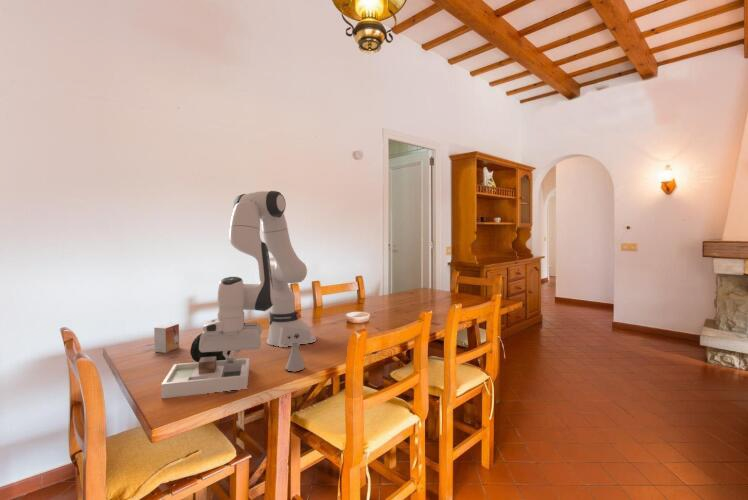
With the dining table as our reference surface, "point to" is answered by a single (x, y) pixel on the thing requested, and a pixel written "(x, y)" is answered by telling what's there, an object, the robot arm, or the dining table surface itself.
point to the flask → (295, 358)
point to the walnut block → (207, 365)
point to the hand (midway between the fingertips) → (230, 362)
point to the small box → (166, 337)
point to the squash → (198, 354)
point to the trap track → (205, 379)
